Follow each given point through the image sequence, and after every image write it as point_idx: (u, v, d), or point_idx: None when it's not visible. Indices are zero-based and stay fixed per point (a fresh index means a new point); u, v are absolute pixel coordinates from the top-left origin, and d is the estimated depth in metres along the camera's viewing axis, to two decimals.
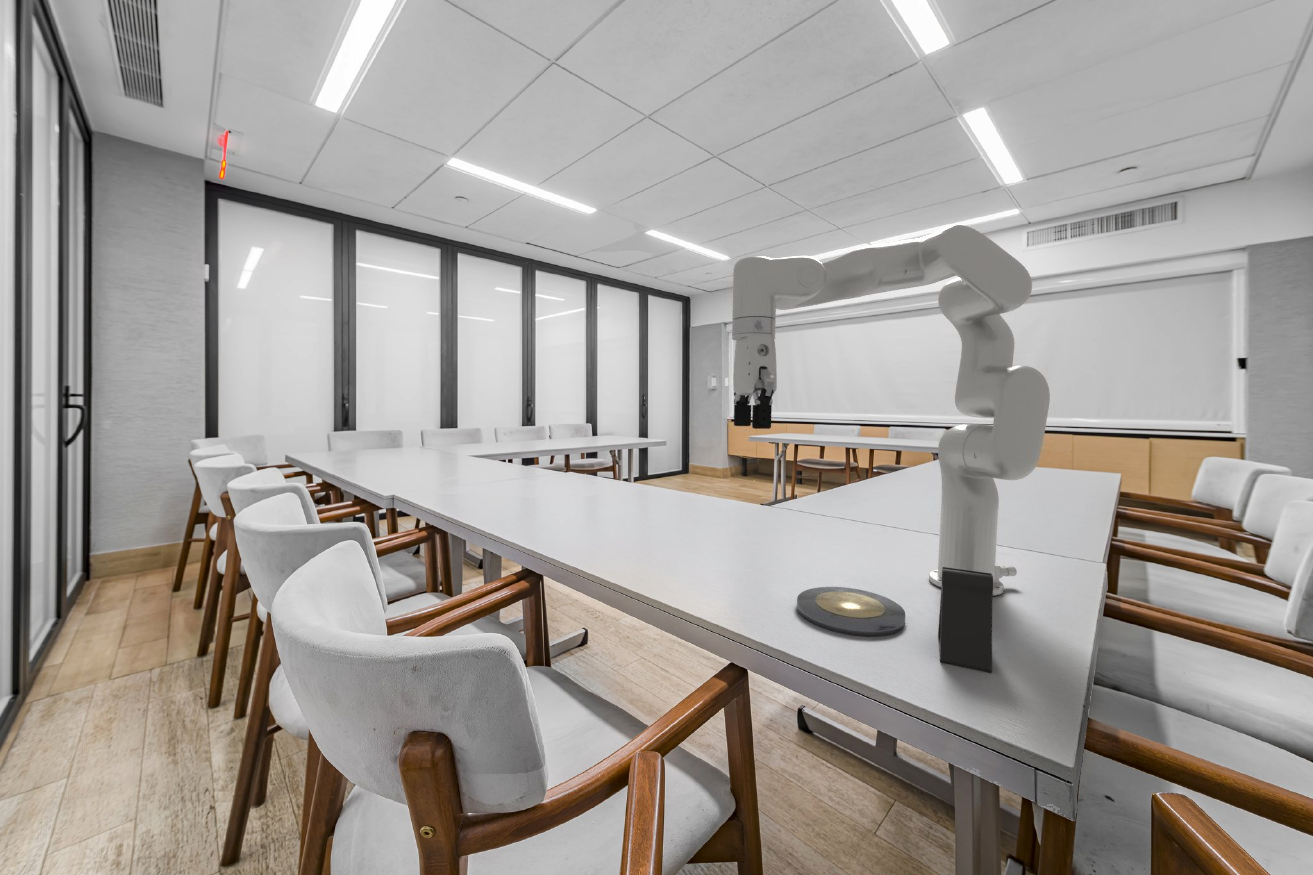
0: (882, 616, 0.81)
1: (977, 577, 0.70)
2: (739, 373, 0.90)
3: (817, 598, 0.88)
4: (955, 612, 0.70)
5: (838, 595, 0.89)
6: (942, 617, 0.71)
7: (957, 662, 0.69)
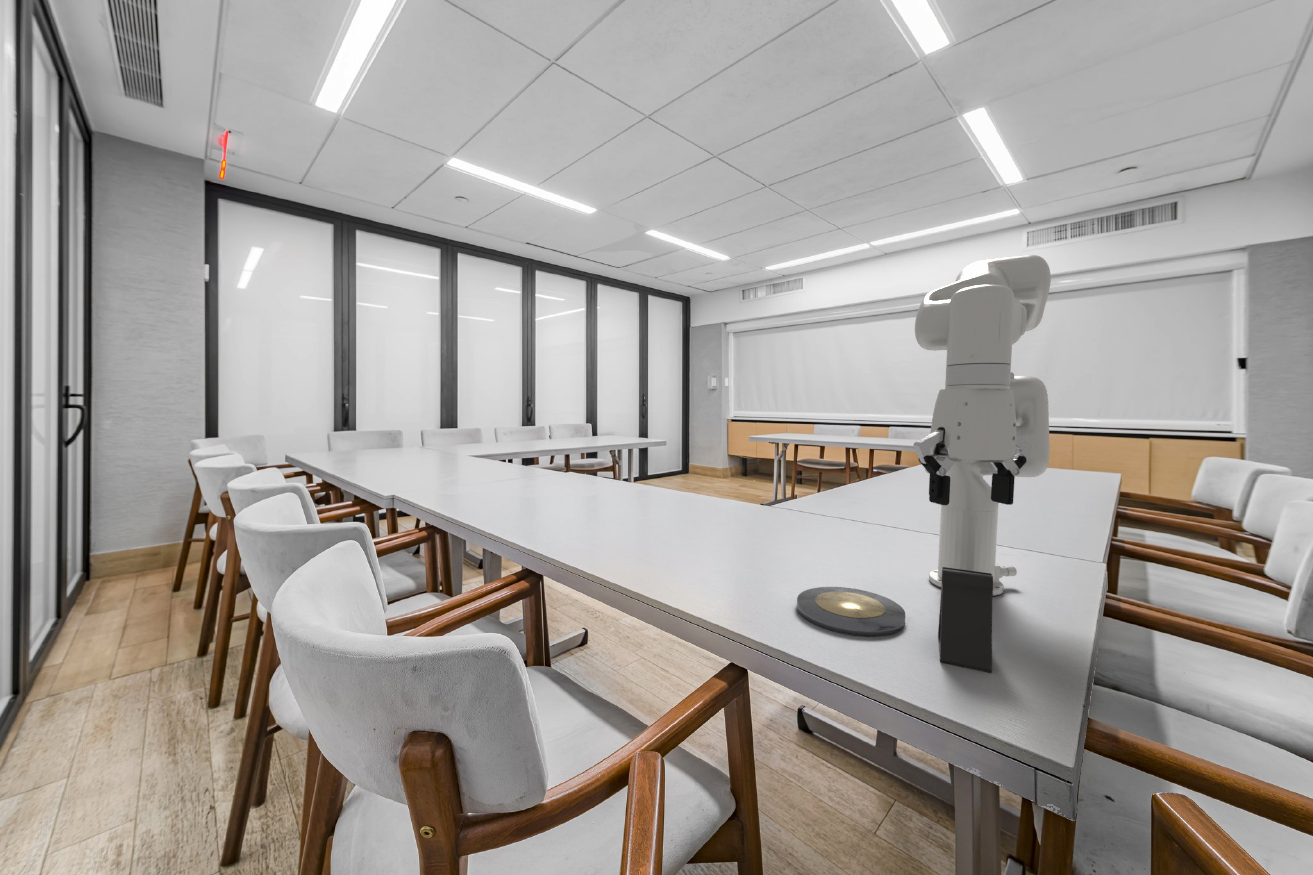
0: (882, 616, 0.81)
1: (977, 577, 0.70)
2: (987, 435, 0.68)
3: (817, 598, 0.88)
4: (955, 612, 0.70)
5: (838, 595, 0.89)
6: (942, 617, 0.71)
7: (957, 662, 0.69)
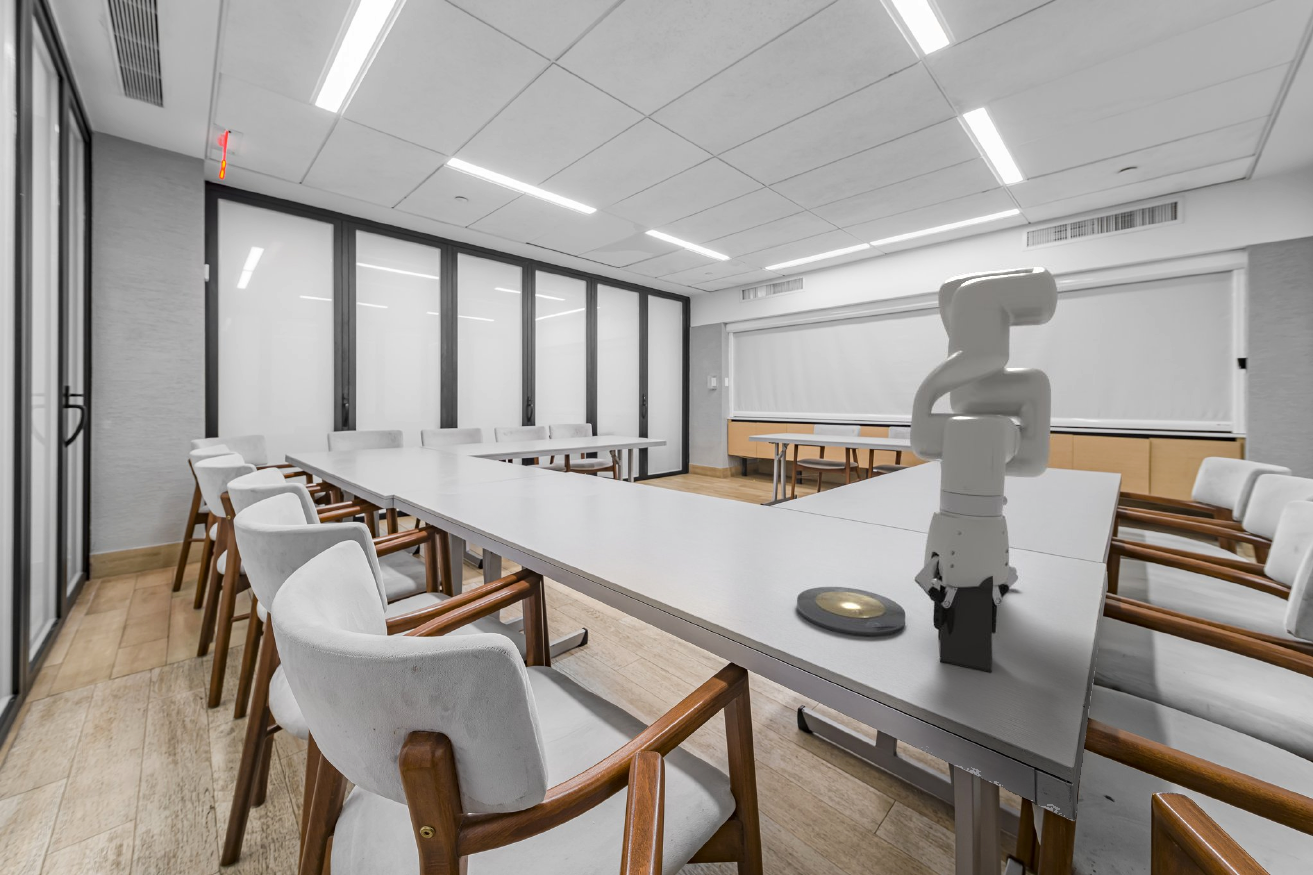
0: (882, 616, 0.81)
1: None
2: (980, 563, 0.69)
3: (817, 598, 0.88)
4: (955, 611, 0.70)
5: (838, 595, 0.89)
6: None
7: (957, 662, 0.69)
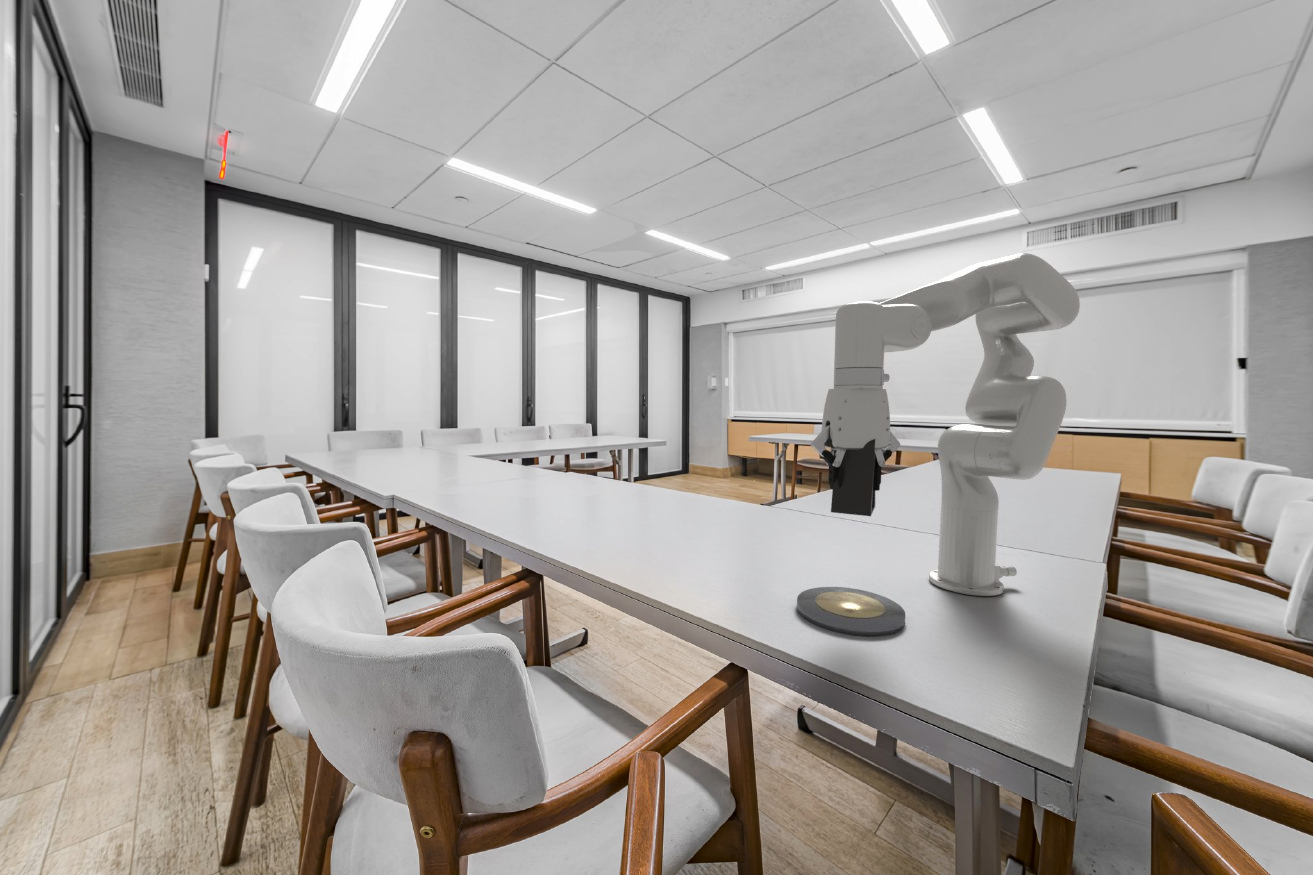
0: (882, 616, 0.81)
1: None
2: (863, 427, 0.81)
3: (817, 598, 0.88)
4: (844, 471, 0.83)
5: (838, 595, 0.89)
6: None
7: (844, 510, 0.81)
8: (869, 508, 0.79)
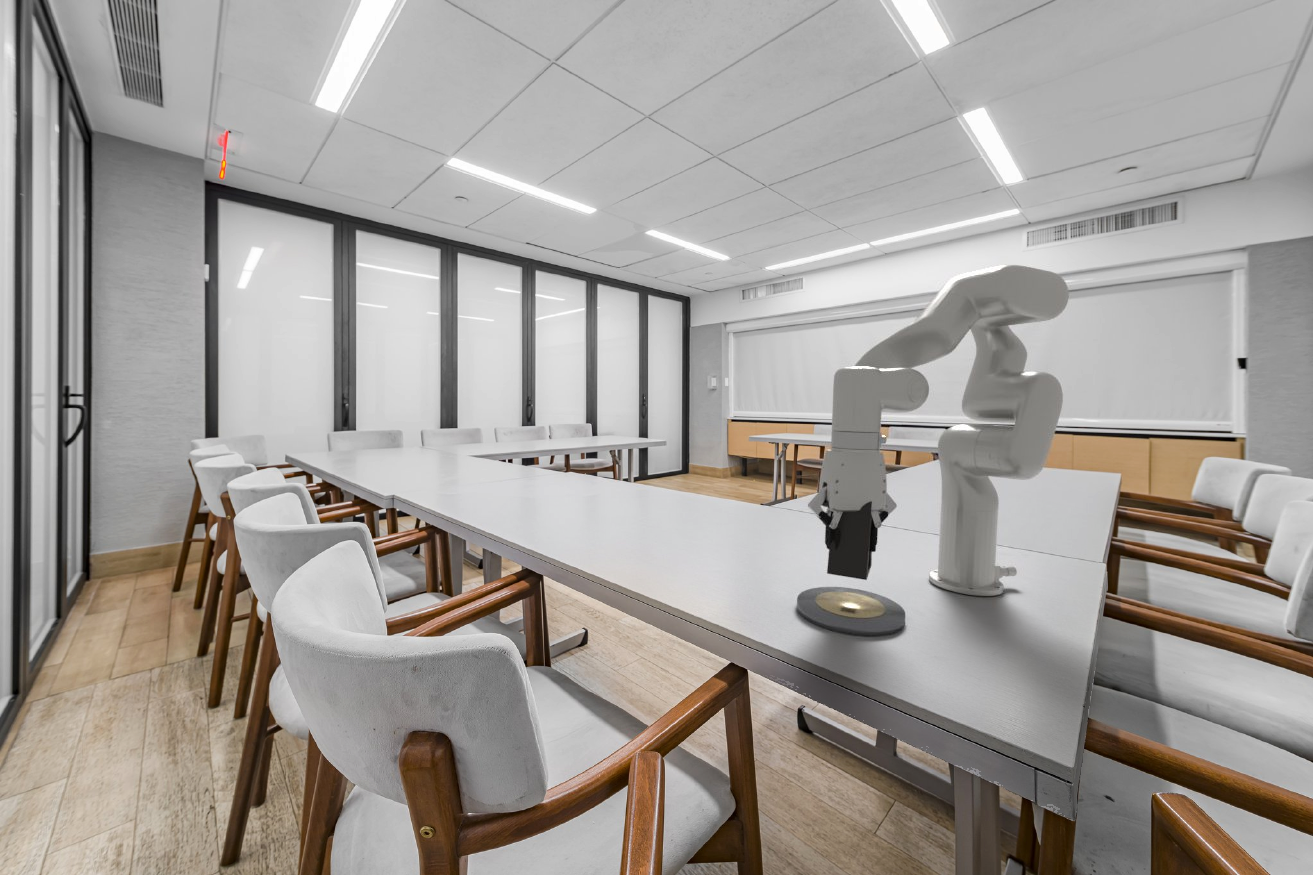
0: (882, 616, 0.81)
1: None
2: (860, 490, 0.82)
3: (817, 598, 0.88)
4: (841, 532, 0.83)
5: (838, 595, 0.89)
6: None
7: (840, 573, 0.82)
8: (865, 572, 0.80)
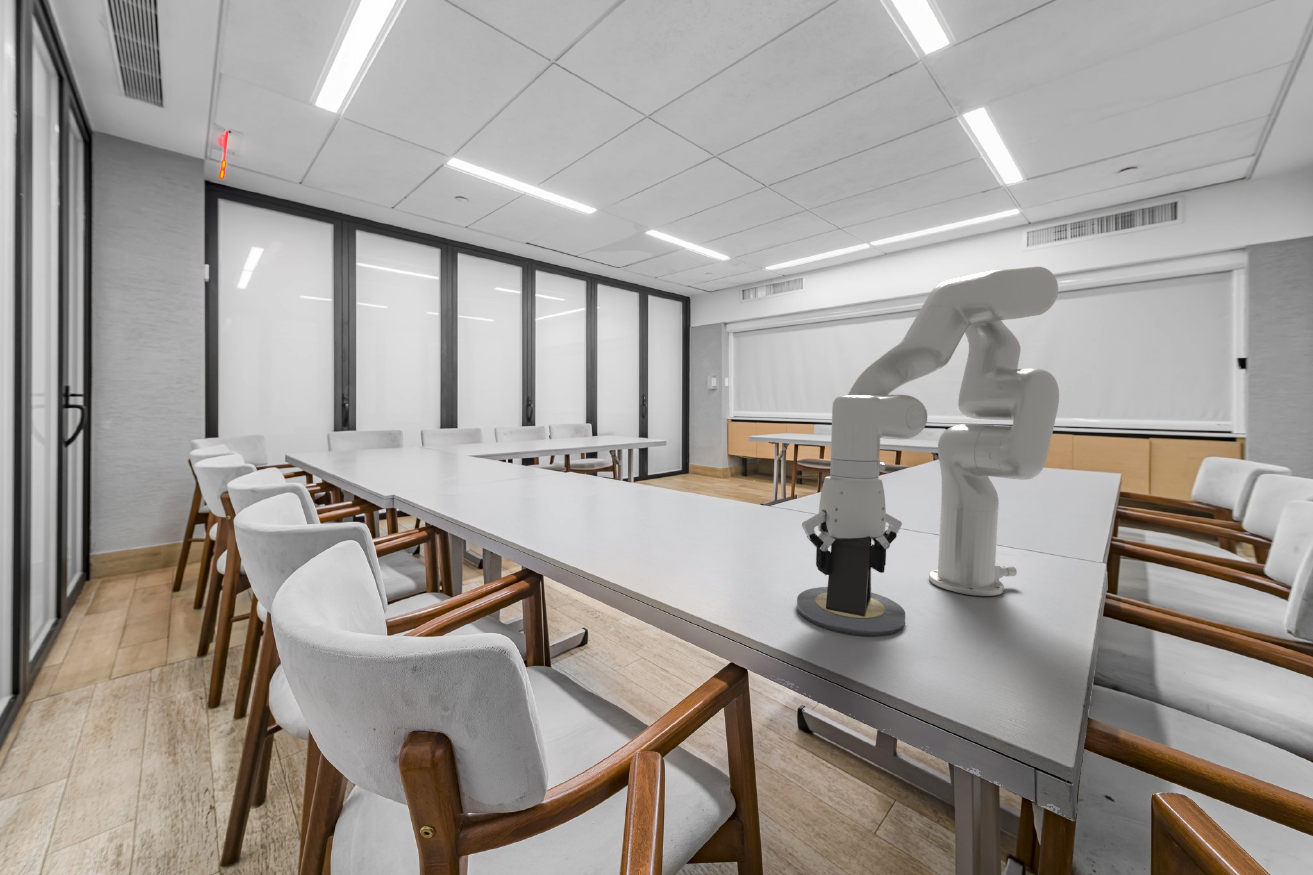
0: (882, 616, 0.81)
1: None
2: (859, 518, 0.82)
3: (817, 598, 0.88)
4: (839, 567, 0.84)
5: None
6: None
7: (839, 608, 0.82)
8: (863, 608, 0.81)
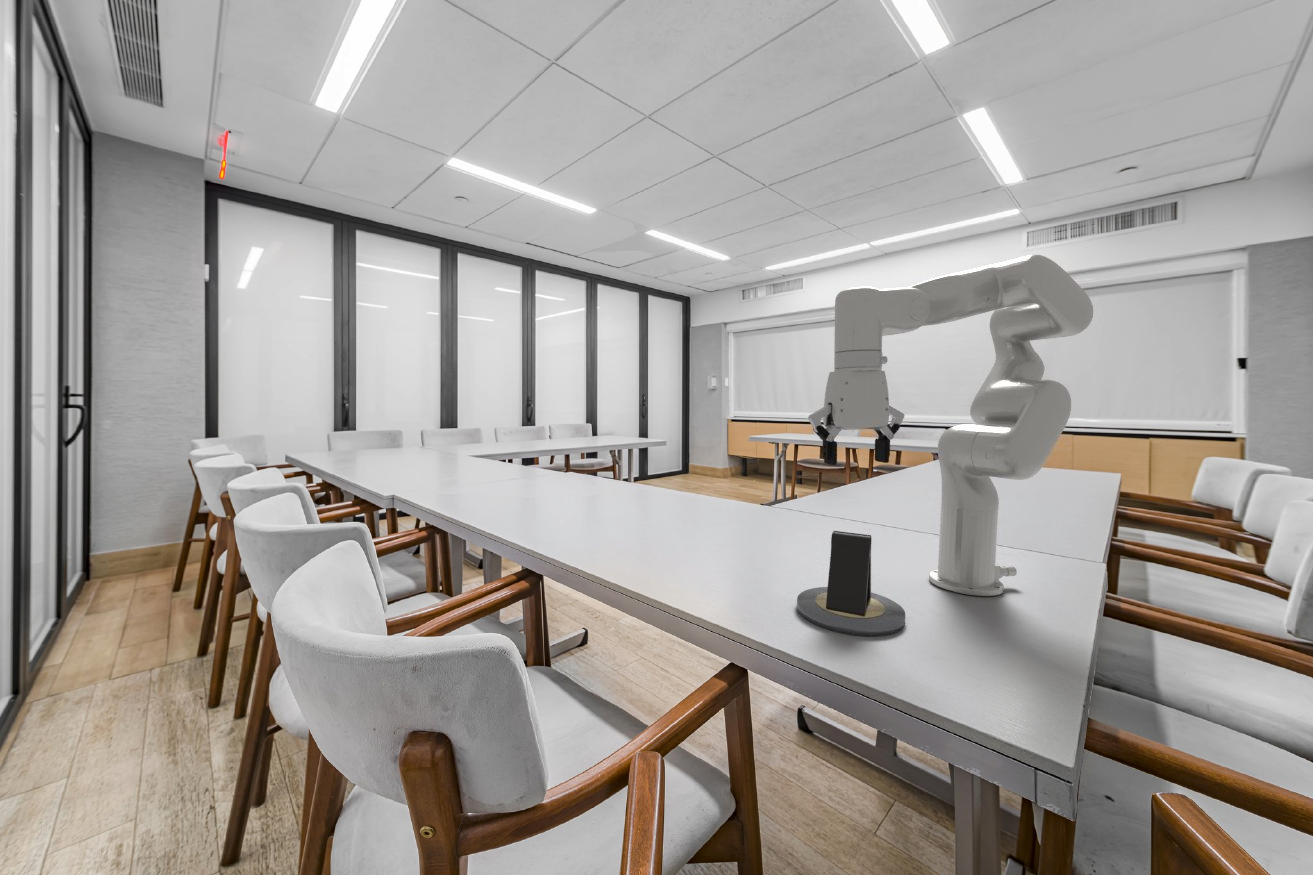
0: (882, 616, 0.81)
1: (857, 537, 0.83)
2: (864, 407, 0.85)
3: (817, 598, 0.88)
4: (839, 567, 0.84)
5: None
6: (829, 572, 0.84)
7: (839, 608, 0.82)
8: (863, 608, 0.81)
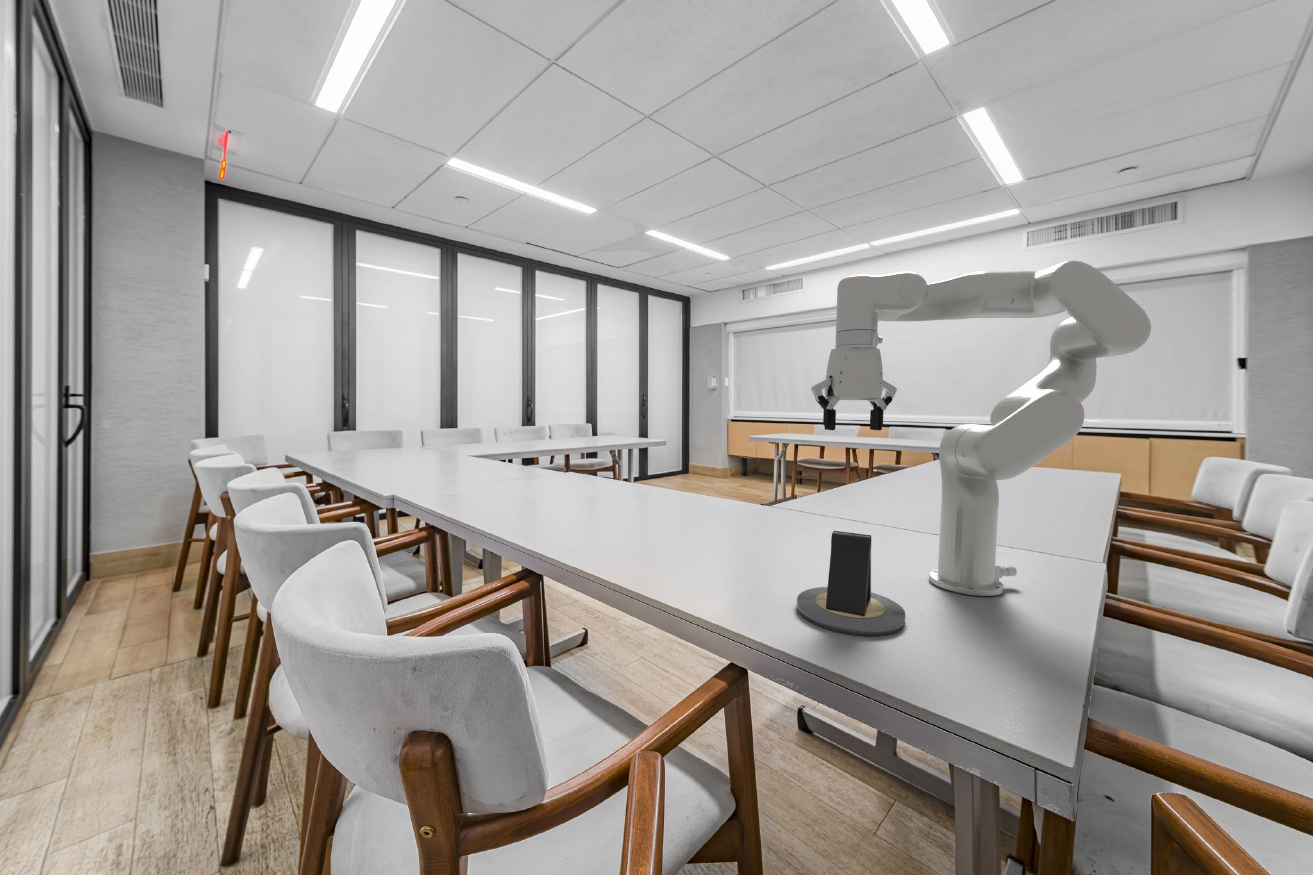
0: (882, 616, 0.81)
1: (857, 537, 0.83)
2: (860, 380, 0.97)
3: (817, 598, 0.88)
4: (839, 567, 0.84)
5: None
6: (829, 572, 0.84)
7: (839, 608, 0.82)
8: (863, 608, 0.81)
